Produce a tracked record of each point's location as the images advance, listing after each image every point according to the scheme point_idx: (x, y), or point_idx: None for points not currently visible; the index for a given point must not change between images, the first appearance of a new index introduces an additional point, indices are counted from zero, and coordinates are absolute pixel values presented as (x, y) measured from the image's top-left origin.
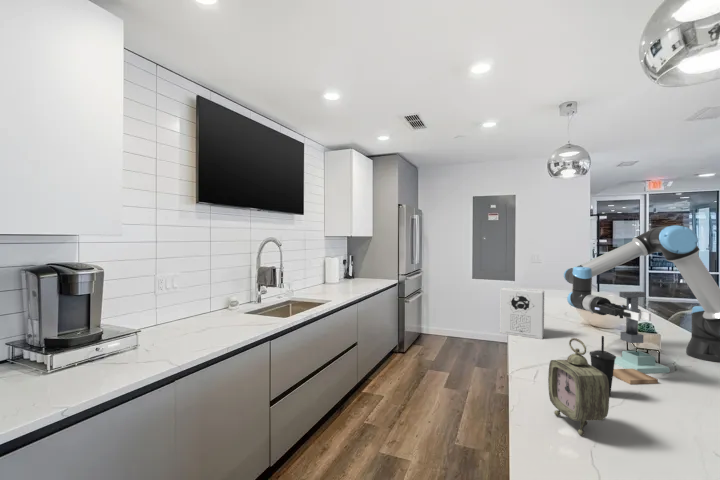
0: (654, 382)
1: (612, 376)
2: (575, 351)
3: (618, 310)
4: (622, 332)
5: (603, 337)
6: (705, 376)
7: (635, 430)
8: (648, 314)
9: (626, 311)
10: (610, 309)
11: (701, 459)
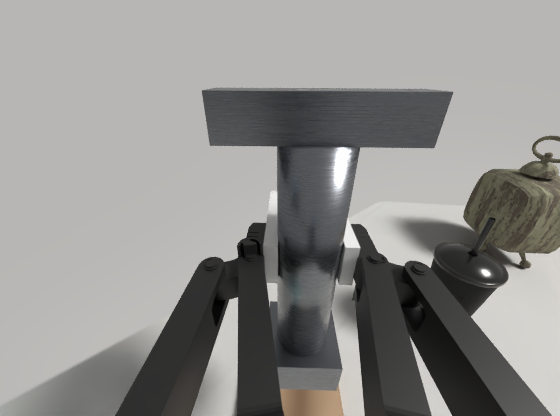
0: None
1: None
2: (550, 157)
3: (389, 277)
4: (339, 354)
5: (489, 219)
6: (33, 404)
7: (416, 237)
8: None
9: (353, 239)
10: (456, 306)
11: (377, 208)
